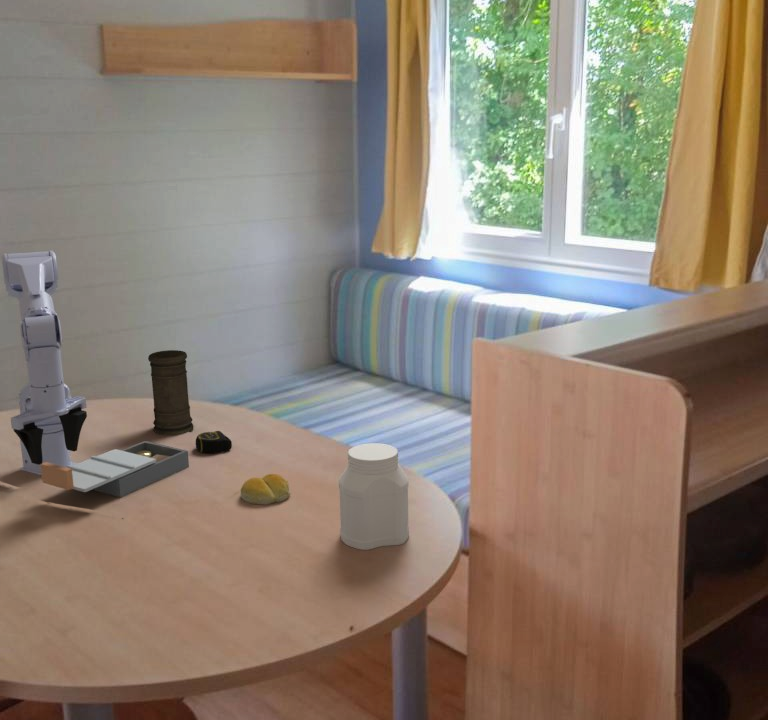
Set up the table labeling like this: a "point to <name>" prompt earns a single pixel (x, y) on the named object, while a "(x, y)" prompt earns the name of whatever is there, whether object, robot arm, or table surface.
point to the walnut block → (159, 458)
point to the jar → (373, 498)
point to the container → (170, 393)
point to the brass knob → (144, 454)
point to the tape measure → (212, 442)
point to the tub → (147, 469)
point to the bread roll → (265, 489)
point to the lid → (94, 470)
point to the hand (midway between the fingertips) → (54, 456)
